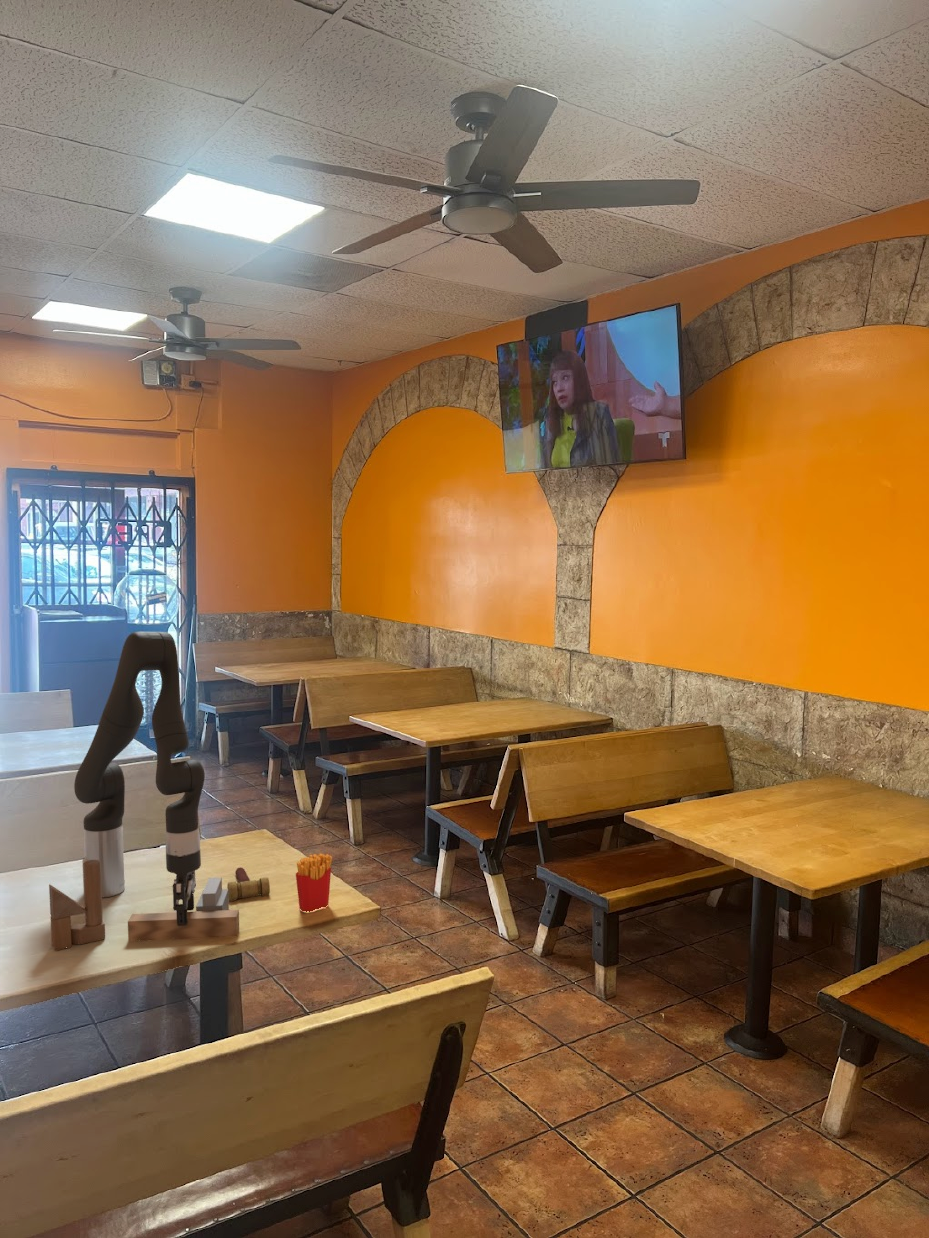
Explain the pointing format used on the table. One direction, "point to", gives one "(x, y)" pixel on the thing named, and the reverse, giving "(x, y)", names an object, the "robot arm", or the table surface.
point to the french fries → (313, 881)
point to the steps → (213, 896)
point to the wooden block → (78, 911)
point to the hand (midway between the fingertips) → (185, 917)
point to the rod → (197, 926)
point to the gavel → (247, 886)
